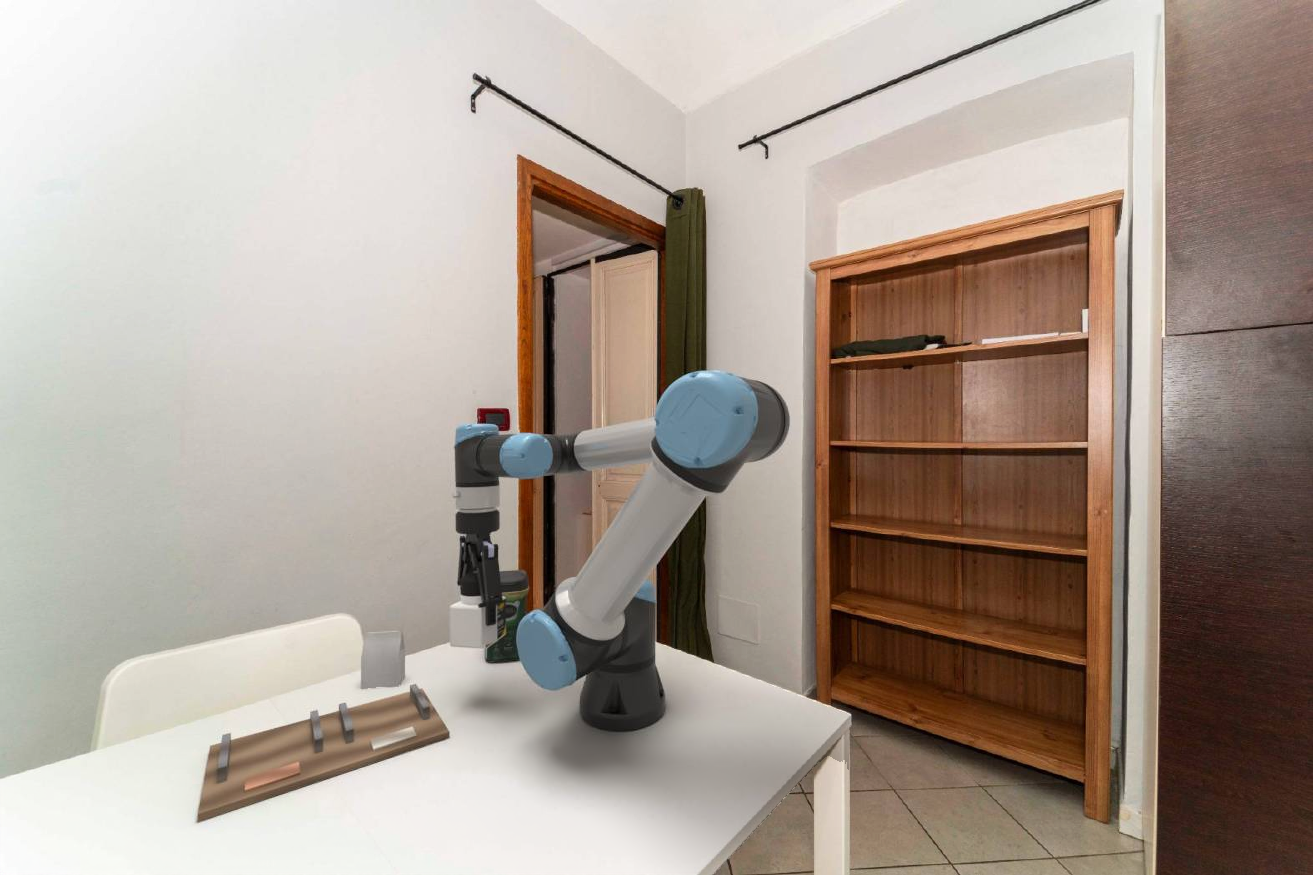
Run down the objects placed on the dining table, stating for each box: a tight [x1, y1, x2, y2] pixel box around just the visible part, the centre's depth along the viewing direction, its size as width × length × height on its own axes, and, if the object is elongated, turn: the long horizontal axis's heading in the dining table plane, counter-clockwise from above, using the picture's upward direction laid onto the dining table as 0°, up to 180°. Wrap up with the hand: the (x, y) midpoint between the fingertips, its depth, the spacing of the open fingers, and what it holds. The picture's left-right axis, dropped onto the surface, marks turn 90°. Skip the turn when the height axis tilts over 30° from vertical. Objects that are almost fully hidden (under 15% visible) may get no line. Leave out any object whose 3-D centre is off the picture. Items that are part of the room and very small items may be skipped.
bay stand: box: [197, 683, 450, 823], centre depth 80 cm, size 18×30×3 cm, turn 127°
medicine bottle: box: [449, 572, 506, 650], centre depth 92 cm, size 7×7×12 cm
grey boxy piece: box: [360, 630, 406, 690], centre depth 100 cm, size 4×7×10 cm, turn 99°
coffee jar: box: [483, 569, 530, 663], centre depth 113 cm, size 10×8×19 cm
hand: (478, 634), depth 92 cm, fingers closed on medicine bottle, 10 cm apart
